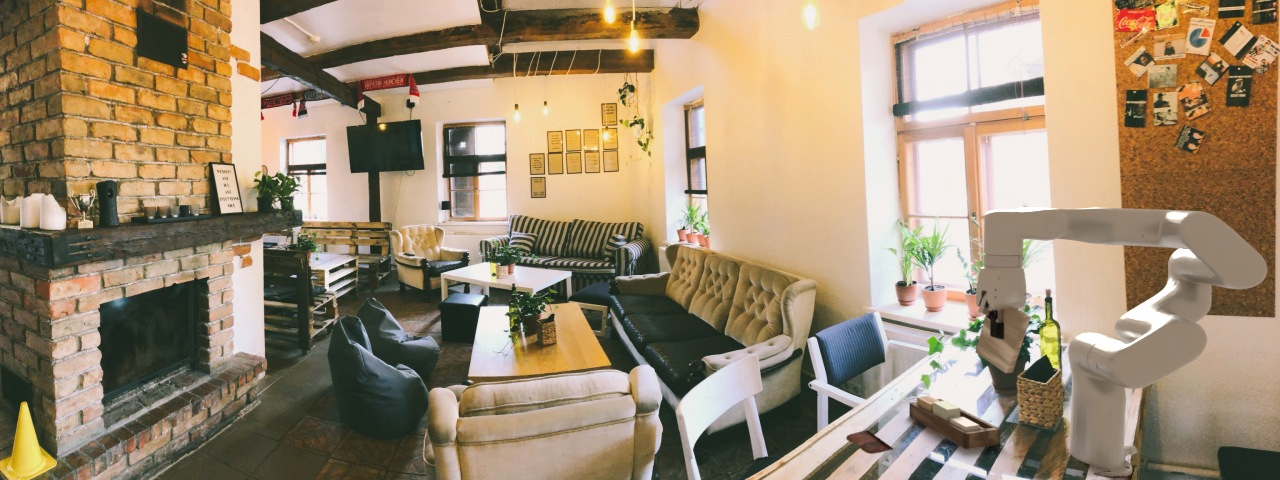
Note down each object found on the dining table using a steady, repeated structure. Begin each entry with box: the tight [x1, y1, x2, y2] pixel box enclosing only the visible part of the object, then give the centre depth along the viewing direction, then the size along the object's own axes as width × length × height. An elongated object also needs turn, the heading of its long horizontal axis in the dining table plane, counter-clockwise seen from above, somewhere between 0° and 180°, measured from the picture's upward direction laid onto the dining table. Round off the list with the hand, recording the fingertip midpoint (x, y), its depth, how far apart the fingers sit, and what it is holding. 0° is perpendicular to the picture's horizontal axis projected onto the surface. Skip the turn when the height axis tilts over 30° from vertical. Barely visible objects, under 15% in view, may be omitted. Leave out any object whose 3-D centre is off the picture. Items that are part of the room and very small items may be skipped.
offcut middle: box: [933, 400, 961, 423], centre depth 136 cm, size 4×5×7 cm
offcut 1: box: [916, 395, 940, 413], centre depth 142 cm, size 4×5×6 cm
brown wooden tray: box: [908, 398, 1002, 450], centre depth 137 cm, size 10×20×6 cm, turn 10°
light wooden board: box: [975, 308, 1031, 374], centre depth 121 cm, size 2×9×15 cm, turn 11°
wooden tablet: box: [846, 430, 894, 454], centre depth 137 cm, size 26×2×10 cm
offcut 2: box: [950, 417, 979, 432], centre depth 131 cm, size 4×5×5 cm
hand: (1001, 336), depth 121 cm, fingers closed on light wooden board, 1 cm apart
